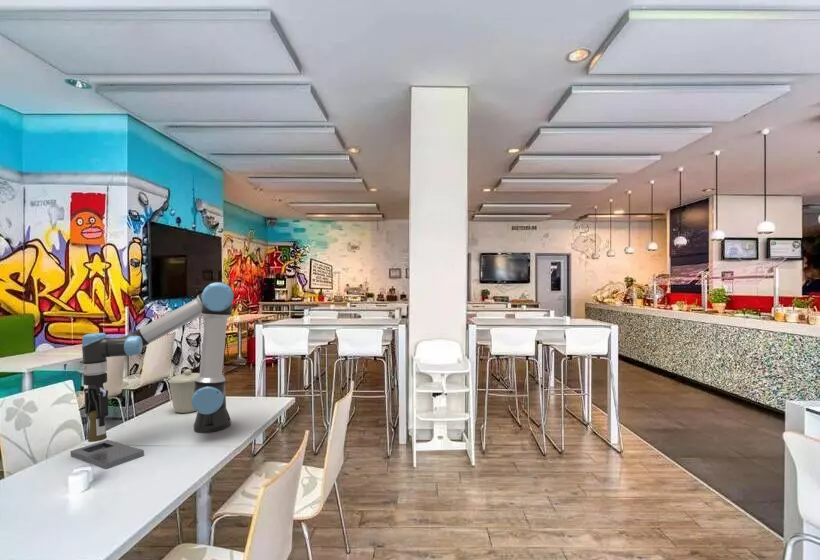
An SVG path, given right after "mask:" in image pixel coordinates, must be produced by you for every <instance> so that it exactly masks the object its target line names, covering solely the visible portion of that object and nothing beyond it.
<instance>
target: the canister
mask: <svg viewBox="0 0 820 560" xmlns="http://www.w3.org/2000/svg"><path fill="white" fill-rule="evenodd" d="M199 375H200V372H192V370H191V369H190V368H187V369H184V370H183V373H181V374H177V375H175V376H172V377H171V378H170V379H168V380H167V383H169V390H170V395H171V401H172V406H173V409H174V411H175V412H176V413H179V414H188V413H189V414H190V413H194V412H197V411H196V410H195V409H194V408H193V406H192V401H191V400H192V397H193V394H194V385H195V379H196V378H197V377H198V376H199Z"/></svg>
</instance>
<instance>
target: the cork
mask: <svg viewBox="0 0 820 560" xmlns="http://www.w3.org/2000/svg"><path fill="white" fill-rule="evenodd" d="M87 417H88V421H89V420H90V428H89V427H88V438H87V442H89V443H93V442H94V443H97V442H102V441H105V439H106V440H107V437H108V436H107V429H105V433H106V434H102V435H99V436H97V430H96V419H95V418H96V417H97V411H96V410H95V411H92V412H90V413H89V416H88V415H87Z"/></svg>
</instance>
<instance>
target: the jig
mask: <svg viewBox="0 0 820 560" xmlns="http://www.w3.org/2000/svg"><path fill="white" fill-rule="evenodd" d="M144 456H145V450H144V449H141V448H138V447H134V446H132V445H127V444H124V443H121V442H117V441H114V440H110V439H106V440H105V439H104V440H101V441H97V442H94V443H92V444H89V445H86V446H83V447H79V448H76V449H73V450H70V457H71V458H75V459H77V460H79V461H83V462H86V463H88V464H92V465H93V464H94V466H97V467H99V468H101V469H102V468H103V469H104V470H105V469H106V470H107V469H110V468H113V467H116V466H119V465H122V464H124V463H127V462H131V461H132V460H136V459H138V458H139V459H140V457H144Z"/></svg>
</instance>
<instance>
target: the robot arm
mask: <svg viewBox="0 0 820 560" xmlns="http://www.w3.org/2000/svg"><path fill="white" fill-rule="evenodd" d="M234 293H235V292H234V290H233V288H232V287H231V286H230V285H228V284H226V283H224V282H217V281H216V282H212V283H209V284H208V285H206V287H205V288H204V289H203V290H202V292H201V293H200V294H198V295H197V296H196V298H195V299H193V300H191V301H190V302H187V303H186V304H184V305H182V306H179V307H178V308H176V309H174V310H172V311H169V312H168V313H166V314H164V315H162V316H161V317H159V318H156V319H155V320H153V321H151V322H150V323H148V324H145V325H144V326H142V327H140V328H139V329H136V330H135V331H134V330H133V331H132V332H130V333H128V334H126V335H124V336H118V337H117V336H116V337H115V336H114V337H107V334H106V333H105V332H95V333H93V332H92V333H87V334H84V335H83V336H82V342H81V343H82V345H81V352H82V353H81V354H82V367H81V369H82V370H83V371H82V372H83V373H82V374H83V376H82V379H83V380H82V381H83V385H84V386H87V387H85V388H83V393H84V413H85V414H86V415H87V417H88V416H89V413H90V412H92V411H95V410H96V411H97V417H96V418H95V419H96V430H97V436H99V435H102V434H106V435H107V432H106V433H105V430H106V417H108V416H109V396H108V395H109V390H108V389H106V390H105V388H104V384H105V383H106V384H107V382H108V373H107V371H108V360H107V358H112V357H126V356H129V357H131V356H137V355H140V354H141V353H142V351H143V348H144V347H146V346H148V345H149V344H151V343H153V342H155V341H156V340H158V339H161V338H163V337H164V336H166V335H168V334H170V333H172V332H173V331H175V330H177V329H179V328H181V327H182V326H185V325H186V324H189V323H190V322H192V321H194V320H196V319H198V318H199V317H201V316H203V318H204V324H203V325H204V326H203V336H202V347H201V355H200V356H201V357H200V364H199V373H200V375H199V376H198V377H197V378H196V379H195V385H194V394H193V397H192V400H191V401H192V406H193V408H194V409H195V410H196V411H195V412H197V413H196V417H195V421H194V423H193V431H194V432H196V433H201V434H202V433H212V432H218V431H222V430H225V429H227V428H229V427H230V426H231V424H232V420H231V416H230V413H229V412H228V409H227V395H226V394H227V393H226V381H227V380H226V377H225V375H224V374H223V367H224V366H223V365H224V356H225V346H226V345H225V344H226V335H227V327H228V326H227V323H228V319H229V318H230V317H231V316H232V313H233V302H234V298H235V294H234ZM89 428H90V420H89V419H88V429H89Z"/></svg>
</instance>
